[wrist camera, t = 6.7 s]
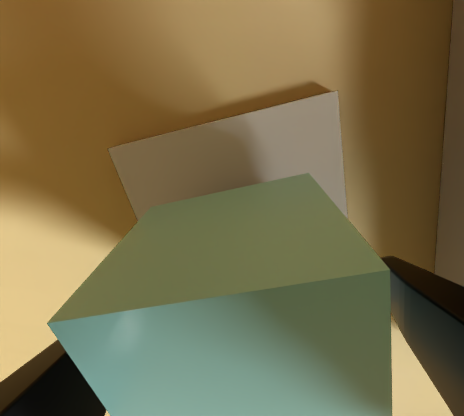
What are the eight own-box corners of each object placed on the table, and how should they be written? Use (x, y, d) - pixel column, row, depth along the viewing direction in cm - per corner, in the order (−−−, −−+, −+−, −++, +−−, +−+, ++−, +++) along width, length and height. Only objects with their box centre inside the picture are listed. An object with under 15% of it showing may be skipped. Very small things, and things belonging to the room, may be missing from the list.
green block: (315, 274, 12) (393, 473, 6) (202, 293, 13) (158, 485, 6) (298, 160, 10) (390, 270, 4) (165, 190, 11) (47, 323, 4)
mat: (350, 297, 13) (354, 305, 13) (185, 320, 15) (183, 329, 14) (332, 91, 10) (337, 90, 9) (114, 146, 11) (107, 148, 10)
